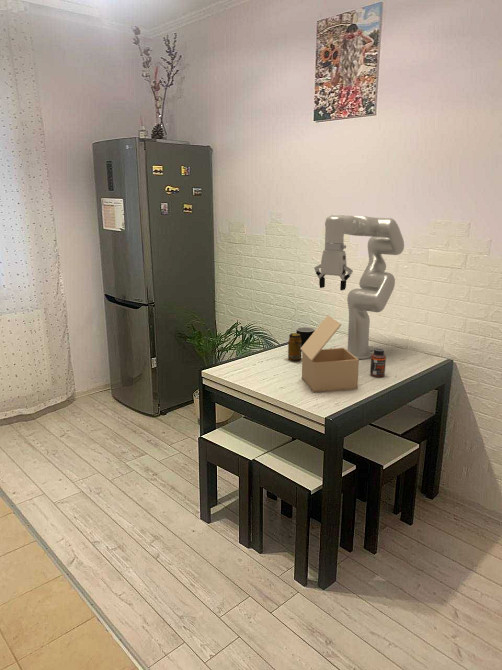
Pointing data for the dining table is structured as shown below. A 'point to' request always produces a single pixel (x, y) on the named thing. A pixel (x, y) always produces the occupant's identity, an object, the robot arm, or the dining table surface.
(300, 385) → the dining table surface
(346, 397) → the dining table surface
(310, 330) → the mug
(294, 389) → the dining table surface
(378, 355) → the supplement bottle
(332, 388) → the carton
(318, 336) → the lid flap
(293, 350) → the condiment
